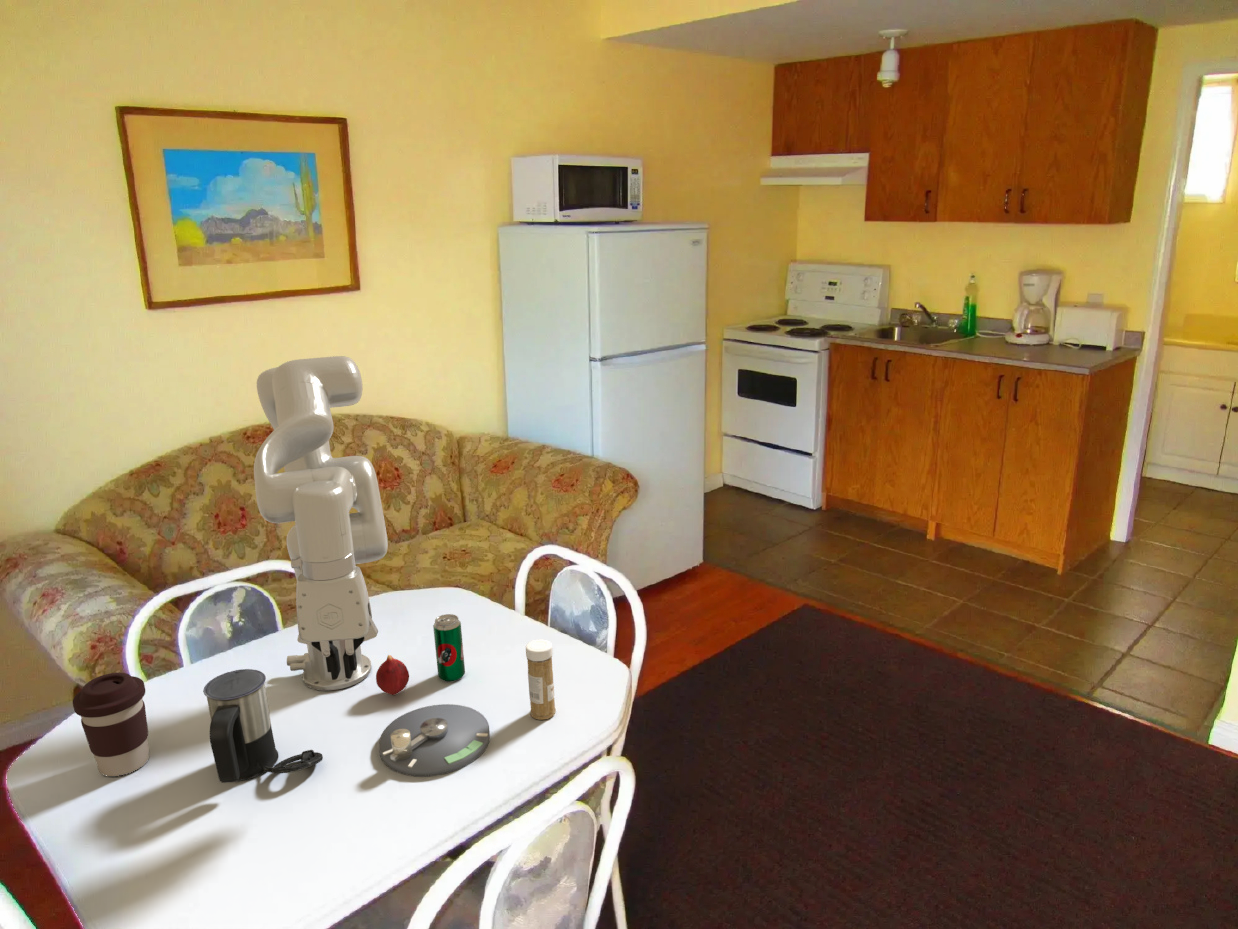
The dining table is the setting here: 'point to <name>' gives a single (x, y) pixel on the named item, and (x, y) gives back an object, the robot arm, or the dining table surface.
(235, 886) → the dining table surface
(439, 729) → the needle
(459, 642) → the soda can
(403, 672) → the onion
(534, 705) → the spice jar
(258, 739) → the milk frother
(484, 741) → the dial
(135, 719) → the coffee cup
